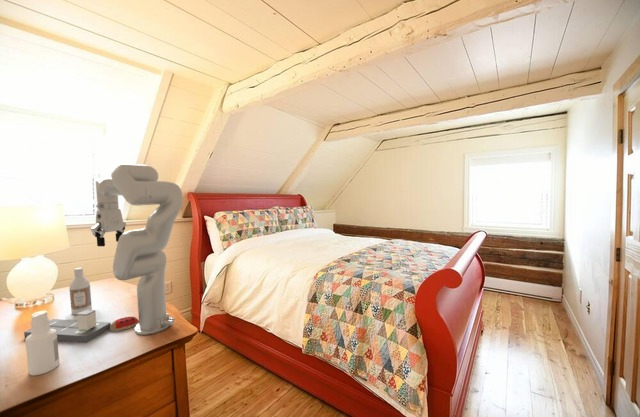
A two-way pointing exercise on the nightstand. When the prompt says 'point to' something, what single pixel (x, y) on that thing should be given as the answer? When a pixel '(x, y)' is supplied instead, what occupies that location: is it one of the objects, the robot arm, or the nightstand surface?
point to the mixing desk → (75, 330)
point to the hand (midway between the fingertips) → (110, 243)
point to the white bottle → (41, 345)
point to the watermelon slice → (124, 323)
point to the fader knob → (86, 319)
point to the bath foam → (80, 292)
